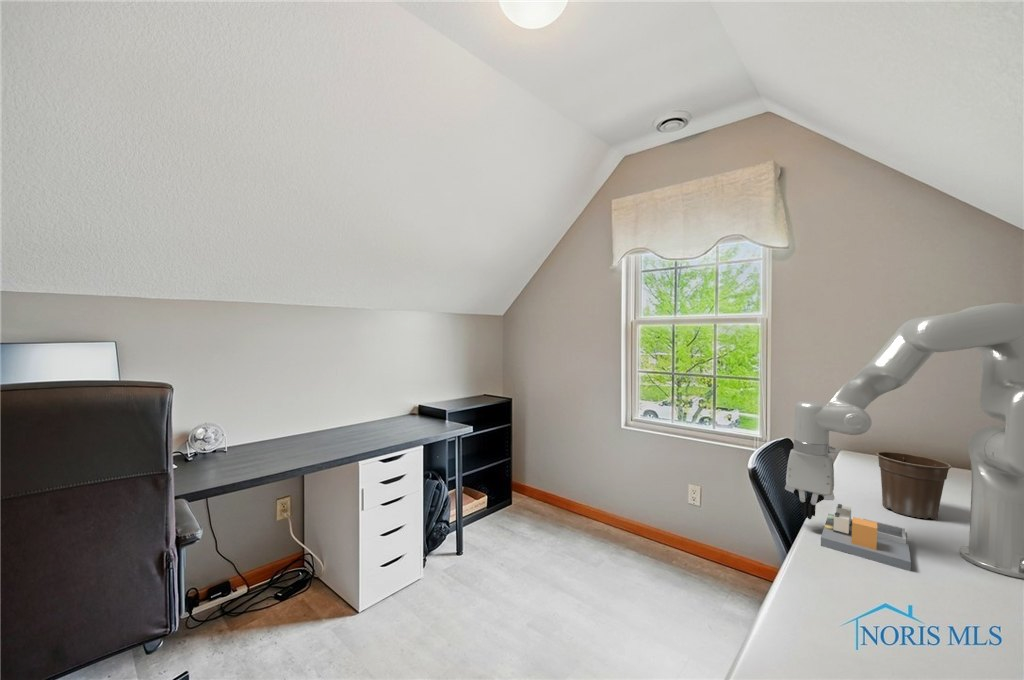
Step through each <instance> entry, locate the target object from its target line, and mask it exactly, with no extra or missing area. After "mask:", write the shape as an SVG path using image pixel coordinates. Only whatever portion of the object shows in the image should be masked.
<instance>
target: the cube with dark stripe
mask: <svg viewBox="0 0 1024 680" xmlns="http://www.w3.org/2000/svg"><path fill="white" fill-rule="evenodd" d="M833 515H834V528H833V530H836V531H840V532H843V533H847V534H849V524H850V516H847V515H842V514H840V513H837V512H834V514H833Z"/></svg>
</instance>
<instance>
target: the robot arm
mask: <svg viewBox="0 0 1024 680" xmlns="http://www.w3.org/2000/svg"><path fill="white" fill-rule="evenodd" d="M975 348H977V350H978V351H979V354H980V356H981V360H982V373H981V385H980V393H979V406H980V409H981V410H982V411H983V413H984V414H986V415H987V416H988V417H990V418H992V419H995V420H998V421H1001V422H1004V423H1005V426H997V425H995V426H993V425H992V426H990V425H989V426H985V427H981V428H980V429H979V428H978V429H977V430H976V431H975V432H973V433H972V434H971V436H970V438H969V440H968V442H967V443H968V445H967V450H968V451H967V452H968V457H969V462H970V468H971V470H970V471H971V492H970V510H969V511H970V513H969V518H970V519H969V535H968V536H969V539H968V546H967V545H966V546H961V547H960V548H959V552H958V553H959V556H960V557H961V558H964V560H965V561H967V562H969V563H972V565H975V566H978V567H980V568H983V569H986V570H988V571H991V572H994V573H998V574H1000V575H1004V576H1005V575H1006V576H1008V577H1013V578H1018V579H1023V580H1024V305H1021V304H1018V303H1015V302H1014V303H1013V302H998V303H997V302H996V303H990V304H983V305H982V304H981V305H976V306H971V307H966V308H964V309H962V310H960V311H955V312H950V313H944V314H938V315H937V314H936V315H929V316H920V317H914V318H911V319H908V320H907V321H905V322H904V323H902V324H901V325H900V326H899V327H898V329H896V331H895V332H894V333H893V334H892V335H891V336H890V338H889V339H888V340H887V341H886V342H885V344H884V345H882V347H881V348H880V350H878V352H877V353H876V354H875V355H874V356H873V358H872V359H870V361H869V362H868V363H867V364H866V365H865V366H864V367H862V368H861V369H860V370H859V371H857V372H856V374H854V375H853V376H852V377H851V378H850V379H848V380H847V381H846V382H845V383H844V384H843V385H842V386H841V387H840V388H839V389H838V390H837V391H836V393H835V394H834V395H833V396H832V398H831V399H830V400H829V401H828V402H827V403H824V402H820V401H812V400H800V401H798V402H797V403H796V404H795V407H794V432H793V437H794V438H793V448H792V449H790V451H789V456H788V460H787V465H786V466H787V468H786V476H785V486H784V490H786V491H787V492H790V493H792V494H794V495H795V497H797V498H798V499H799V501H800V503H801V505H800V513H801V514H803V518H804V519H808V520H812V518H813V517H816V508H817V507H816V505H817V504H819V503H821V502H822V501H834V500H835V495H834V489H835V471H834V470H835V469H834V468H835V467H834V461H833V459H834V458H833V456H832V455H831V454H832V453H833V454H836V450H837V449H836V447H833V446H831V445H830V443H829V442H830V432H833V433H839V434H843V435H849V436H860V435H863V434H866V433H868V431H870V429H871V427H872V423H873V422H872V418H871V416H870V414H869V413H868V412H867V411H866V409H867V407H868V406H869V405H871V403H873V402H874V401H875V400H877V398H879V397H881V396H882V395H884V394H886V393H888V392H891V391H894V390H897V389H899V388H901V387H903V386H905V385H906V384H907V383H908V382H909V381H911V379H912V378H913V377H914V376H915V374H917V372H918V371H919V370H921V367H923V366H924V365H925V363H927V361H928V360H929V359H930V358H931V357H932V356H933V354H934V353H946V352H954V351H962V350H968V349H975ZM829 454H830V455H829ZM807 492H808V493H812V495H811V498H810V500H808V499H809V498H808V497H807Z"/></svg>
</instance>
